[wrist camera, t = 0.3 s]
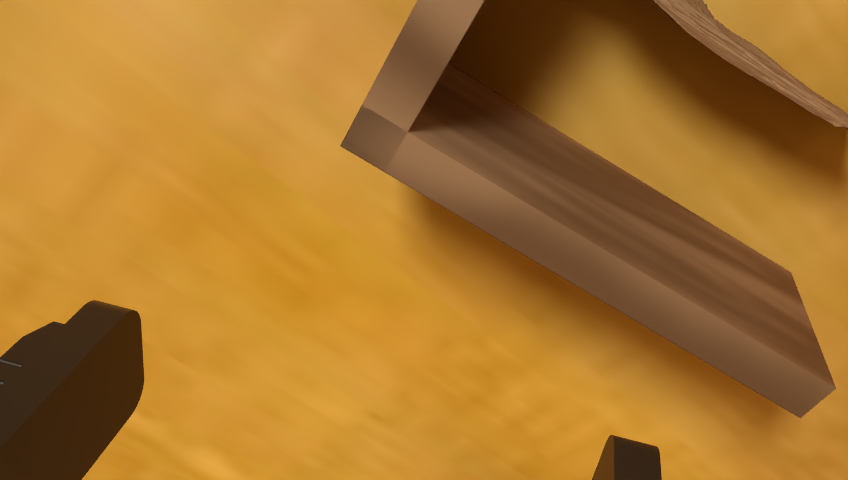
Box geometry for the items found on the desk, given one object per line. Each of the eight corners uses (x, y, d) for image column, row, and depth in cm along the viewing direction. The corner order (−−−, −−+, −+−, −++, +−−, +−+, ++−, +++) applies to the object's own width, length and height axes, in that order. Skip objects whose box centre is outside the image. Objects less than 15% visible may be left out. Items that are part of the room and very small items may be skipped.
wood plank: (875, 91, 34) (913, 132, 30) (837, 126, 35) (869, 171, 31) (598, -125, 32) (596, -113, 28) (566, -81, 33) (560, -63, 29)
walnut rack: (690, -468, 27) (724, -577, 19) (1191, -118, 28) (1408, -89, 21) (394, 76, 38) (340, 145, 30) (763, 299, 40) (800, 418, 32)
